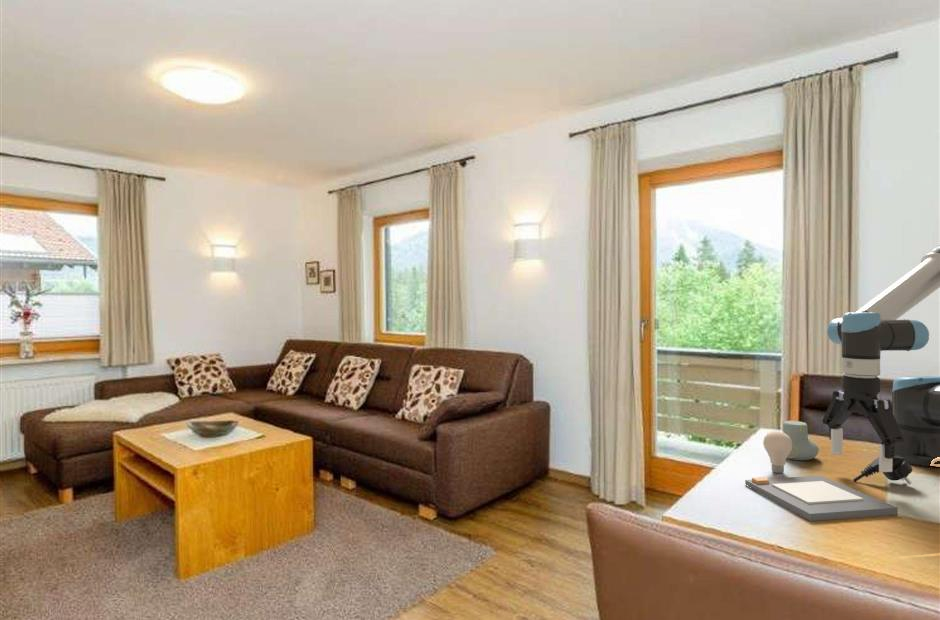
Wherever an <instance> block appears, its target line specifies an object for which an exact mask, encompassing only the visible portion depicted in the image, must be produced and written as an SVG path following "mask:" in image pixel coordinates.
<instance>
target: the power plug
mask: <svg viewBox="0 0 940 620" xmlns="http://www.w3.org/2000/svg"><path fill="white" fill-rule="evenodd" d="M860 472H861V473H860V474H859V475H858V476H856V477H854V478H853V479H852V481H853V482H855V483H856V482H857V481H860V479H862V478H863V477H865V478H868V477H870V476H873V475H874V474H876V473H881V472H880V471H879V456H878V457H877V458H876V459H874V460H872V462H870V463H869V464H868V465H867V466H866V467H864V469H863V470H861V471H860ZM912 472H913V468H912V466H911V464H908V463H907V461H906V460H905V459H904V458H903V457H900V456H895V457H894V459H892V472H882V474H883V475H884V476H885V478H887V479H889V481H900V480H901V481H905V482H906V483H907V484H908V485H912V481H911V480H910V478H909V477H908V476H909V475H910V474H911V473H912Z"/></svg>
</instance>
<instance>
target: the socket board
mask: <svg viewBox="0 0 940 620" xmlns="http://www.w3.org/2000/svg"><path fill="white" fill-rule="evenodd" d="M744 483H745V484H746V485H748V486H749V487H751V488H753V489H754V490H753V489H752V490H753V491H755V490H756V491H758V492H759V493H758V492H757V493H758V494H760V493H761V494H760V495H762V494H763V495H764V496H763V495H762V496H763V497H765V496H766V497H765V498H767V497H768V498H767V499H769V500H771V501H772V502H774V501H775V502H774V503H776V504H778V505H779V506H781V507H783V508H785V509H787V510H789V511H790V512H792V513H794V514H796V515H798V516H799V517H801V518H803V519H806V520H807V521H809V522H817V521H830V520H844V519H845V520H846V519H858V518H859V519H860V518H873V517H886V516H898V513H899V512H898V511H899V509H898V507H897V506H895V505H892V504H891V503H888V502H885V501H883V500H881V499H878V498H875V497H873V496H871V495H868V494H866V493H863V492H861V491H858V490H857V489H854V488H851V487H849V486H847V485H844V484H842V483H840V482H838V481H836V480H835V481H834V480H833V479H830V478H827V477H825V476H823V475H820V474H819V475H808V476H807V475H806V476H804V475H803V476H789V477H787V476H786V477H773V478H772V477H771V478H766V477H763V476H762V477H751V479H745V480H744ZM746 485H745V486H746ZM749 487H748V488H749ZM751 488H750V489H751ZM756 491H755V492H756Z"/></svg>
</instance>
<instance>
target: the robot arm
mask: <svg viewBox="0 0 940 620" xmlns="http://www.w3.org/2000/svg"><path fill="white" fill-rule="evenodd" d="M939 288H940V244H939V245H938V246H936V247H934V248H933V249H932V250H930V251H929V252H927V253H926V254H925V255H923V257H922V258H921V259H920V264H918V265H916V267H914V268H913V269H911V270H910V271H908V272H907V273H906V274H905V275H903V276H902V277H901V278H899V279H898V280H897V281H896V282H893V284H891V285H890V286H889V287H887V288H886V289H885V290H883V291H882V292H880V293H879V294H878V295H877V296H875V297H874V298H872V299H870V301H868V302H867V303H866V304H865V305H863V306H862V307H860V308H859V309H857V310H856V311H854V312H853V311H849V312H845V313H844V314H843V315H842V316H841V317H838V318H834V319H832V320H831V321H830V322H829V324H828V325H827V329H826V333H827V336H828V338H829V339H830V341H831V342H833V343H834V344H836V345H841V373H842V374H843V375H842V376H841V382H840V383H841V389H842V390H833V391H832V398H831V400H830V403H829V405H828V407H827V409H826V411H825V414H824V416H823V418H822V421H821V423H822V424H824V425H827V427H828V428H829V429H828V430H829V438H828V439H829V440H830V455H834V456H835V455H836V456H837V455H839V456H840V455H843V452H844V450H843V448H844V445H843V444H844V443H843V442H844V441H843V439H844V430H843V428H842V427H843V426H842V425H843V424H844V423H845V422H846V421H847V420H848V418H850V416H852V414H858V415H860V416H864V418H866V419H867V420H868V421H869V423H870V424H871V426H872V427H873V429H874V431H875V432H876V434H877V435H878V437H879V439H880V440H881V442H879V443H878V457H879V471H880V472H879V473H883V472H892V459H894V457H895V456H900V457H903V458H904V459H905V460H906V461H907V463H908V464H909V465H914V466H919V465H921V467H926V466H930V464H931V461H932V460H933V459H935V458H937V457H940V376H934V375H933V376H922V375H921V376H898V377H896V378H895V379H894V380H893V382H892V389H891V394H892V395H891V396H892V397H891V398H892V399H891V400H892V402H891V400H890V399H879V398H878V395H879V393H880V392H881V378H879V377H878V376H880V375H881V354H882V353H881V352H884V351H886V352H887V351H889V352H890V351H891V352H892V351H894V352H895V351H899V352H900V351H902V352H904V351H907V352H910V351H917V350H921V349H923V348H925V347H926V345H927V344H928V342H929V340H930V331H929V328H928V326H926V325H925V324H924V323H923V322H922V321H919V320H915V319H906V318H905V319H899V318H900V317H902V316H903V315H905V314H906V313H908V312H909V311H911V310H912V309H913V308H914V307H915V306H917V305H918V304H919V303H921V302H922V301H924V300H925V299H926V298H927V297H928V296H930V295H931V294H933V293H934V292H935V291H937V290H938V289H939ZM934 464H940V461H937V462H935V463H934Z"/></svg>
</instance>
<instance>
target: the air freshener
mask: <svg viewBox="0 0 940 620" xmlns="http://www.w3.org/2000/svg"><path fill="white" fill-rule="evenodd" d="M808 428H809V427H808V424H807V422H804V421H800V420H798V421H797V420H785V421H783V422H782V432H783V433H785V434H787V435H788V436H789V437H790V439H791V441H792V450H791V452H790V454H789V455H788V457H787V458H786V459H787V460H788V459H789V460H792V461H793V460H794V461H809V460H812V459H814V458H816V457H817V456H818V454H819V450H820V449H819V446H818V444H816V443H815V442H814V441H813V440H812V439H810V438H808V437H809V436H808V435H809V433H808V432H809V430H808Z"/></svg>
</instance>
